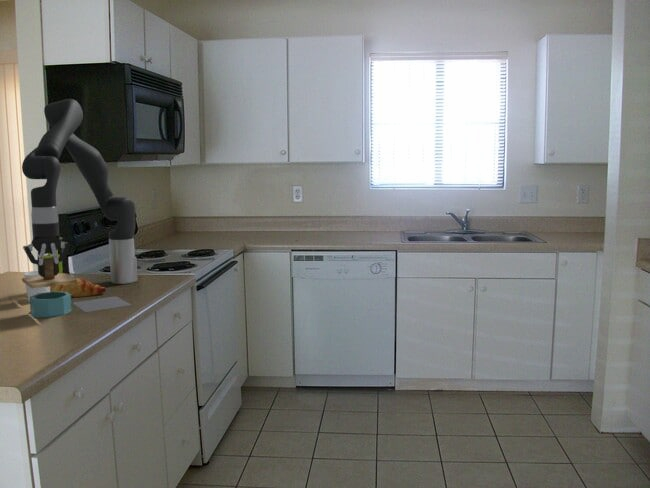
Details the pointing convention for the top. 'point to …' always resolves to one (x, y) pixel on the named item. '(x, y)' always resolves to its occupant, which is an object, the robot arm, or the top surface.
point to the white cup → (35, 290)
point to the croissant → (79, 288)
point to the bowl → (50, 304)
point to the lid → (48, 277)
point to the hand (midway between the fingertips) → (48, 275)
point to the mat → (101, 304)
